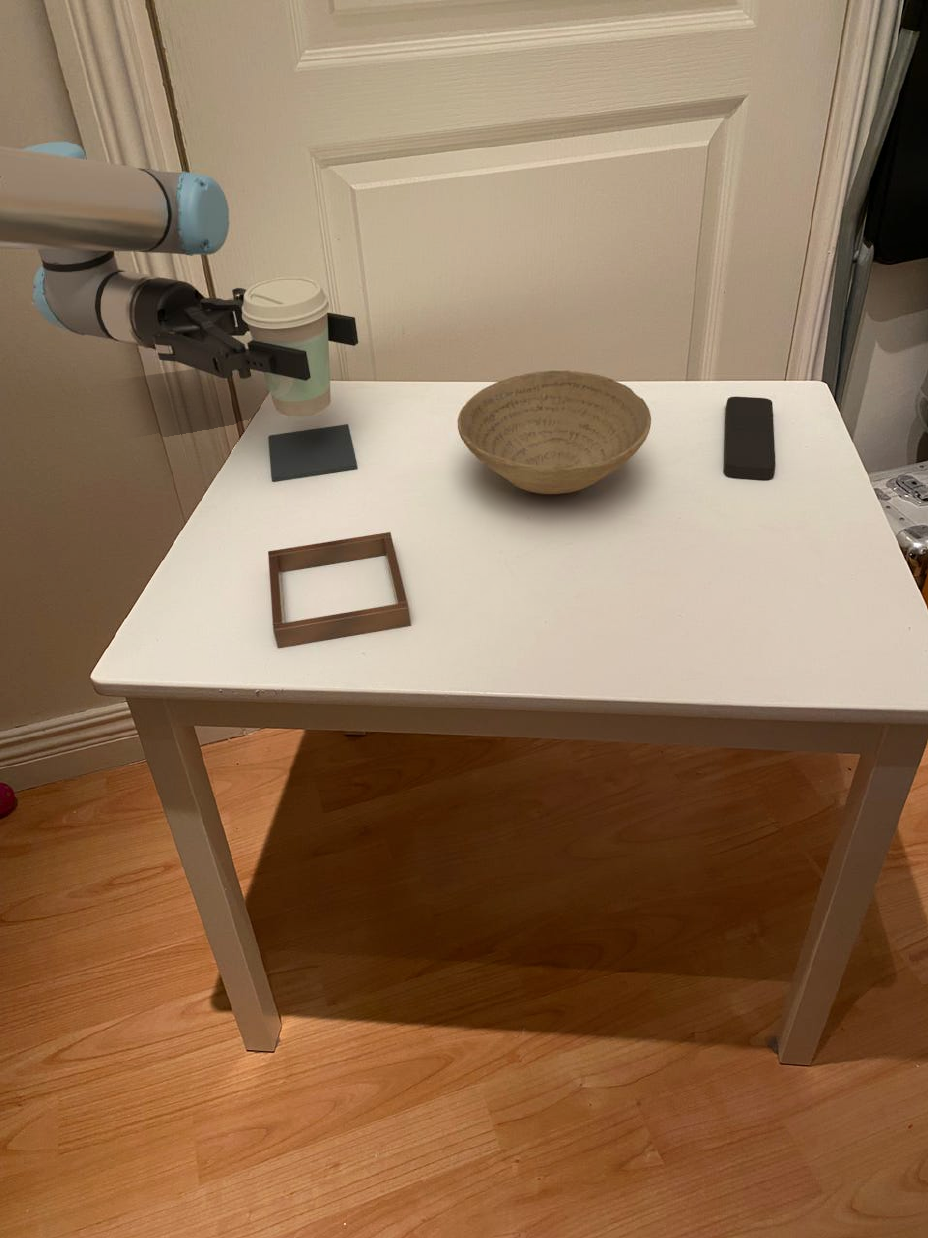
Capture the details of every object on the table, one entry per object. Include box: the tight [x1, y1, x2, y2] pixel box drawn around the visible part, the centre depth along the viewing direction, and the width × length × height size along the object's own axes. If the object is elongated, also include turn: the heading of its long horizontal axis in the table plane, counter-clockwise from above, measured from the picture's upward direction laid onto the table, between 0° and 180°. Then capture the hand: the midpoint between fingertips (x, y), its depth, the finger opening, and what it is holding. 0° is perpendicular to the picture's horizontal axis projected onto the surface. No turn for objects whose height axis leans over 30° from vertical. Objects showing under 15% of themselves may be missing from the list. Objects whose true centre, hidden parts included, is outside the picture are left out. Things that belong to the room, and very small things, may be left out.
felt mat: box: [267, 423, 358, 482], centre depth 102 cm, size 9×9×1 cm
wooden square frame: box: [267, 531, 412, 649], centre depth 82 cm, size 11×11×2 cm
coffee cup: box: [242, 276, 332, 418], centre depth 94 cm, size 8×9×12 cm
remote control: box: [723, 396, 776, 481], centre depth 98 cm, size 5×2×15 cm
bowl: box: [457, 370, 652, 495], centre depth 92 cm, size 18×18×8 cm
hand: (330, 348), depth 91 cm, fingers closed on coffee cup, 8 cm apart
